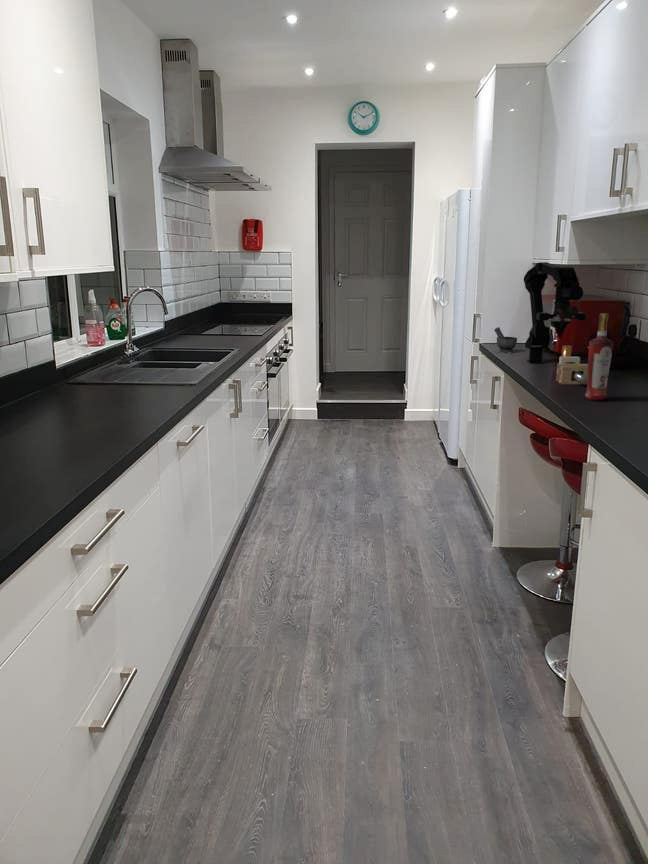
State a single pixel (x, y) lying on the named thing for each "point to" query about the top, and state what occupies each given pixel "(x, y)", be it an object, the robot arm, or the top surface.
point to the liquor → (599, 362)
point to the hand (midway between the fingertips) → (559, 337)
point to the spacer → (569, 360)
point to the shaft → (567, 353)
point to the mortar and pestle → (505, 342)
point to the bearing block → (566, 371)
